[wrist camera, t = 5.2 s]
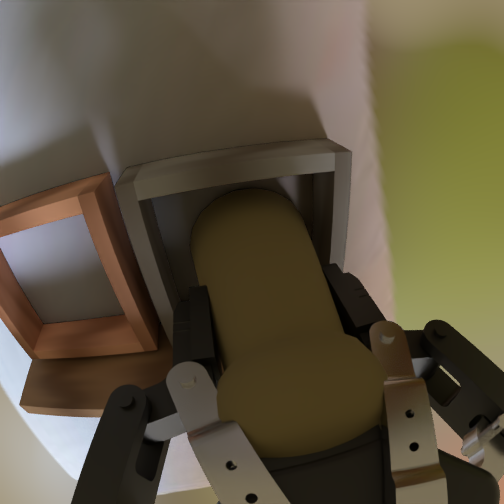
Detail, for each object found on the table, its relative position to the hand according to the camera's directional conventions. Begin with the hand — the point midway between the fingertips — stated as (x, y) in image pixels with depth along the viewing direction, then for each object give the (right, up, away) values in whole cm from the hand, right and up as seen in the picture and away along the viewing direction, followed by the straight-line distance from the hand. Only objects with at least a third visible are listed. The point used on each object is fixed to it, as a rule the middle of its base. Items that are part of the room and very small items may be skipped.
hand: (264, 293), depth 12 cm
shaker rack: (-6, +2, +3) cm, 7 cm away
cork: (-1, +2, +3) cm, 4 cm away
